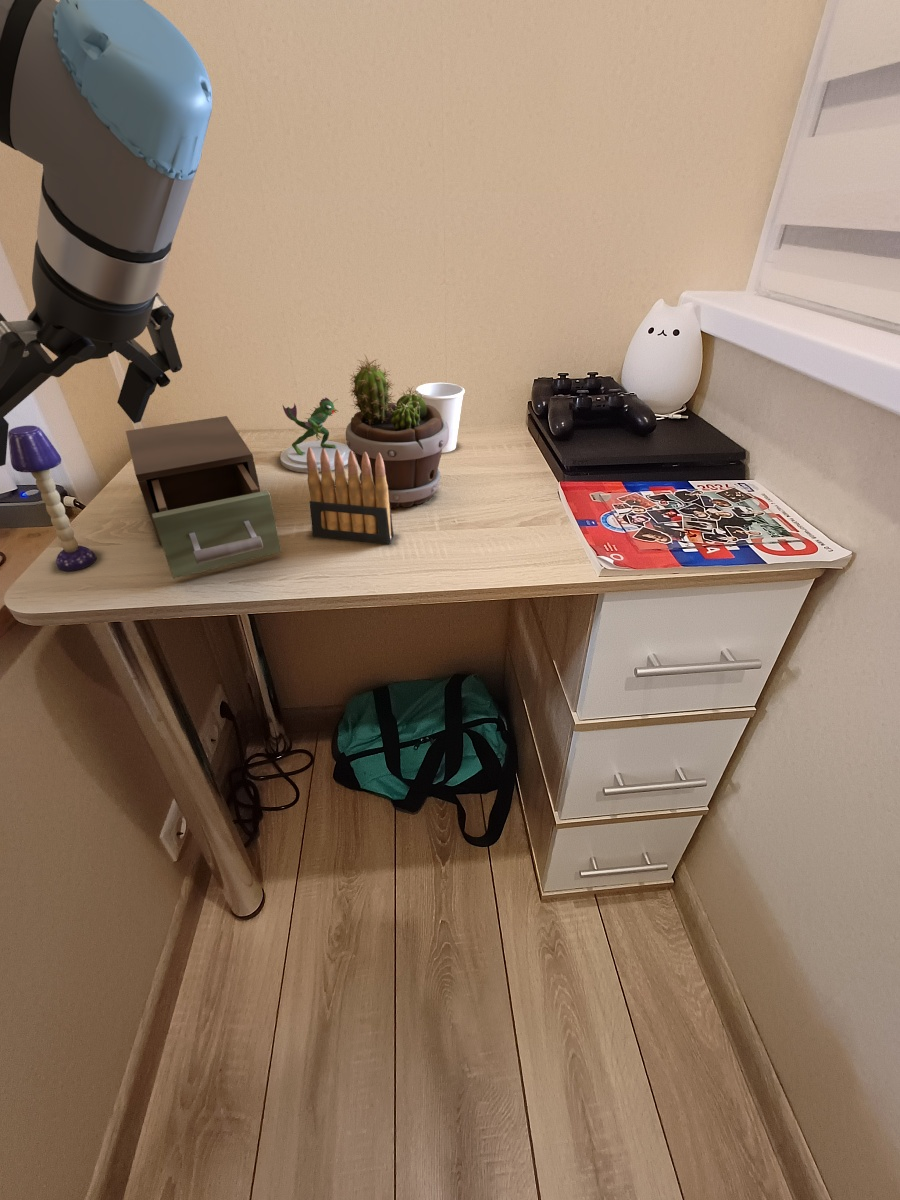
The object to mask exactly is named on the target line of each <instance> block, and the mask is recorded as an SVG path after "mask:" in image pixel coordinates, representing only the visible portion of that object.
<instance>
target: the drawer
mask: <svg viewBox="0 0 900 1200" xmlns="http://www.w3.org/2000/svg"><path fill="white" fill-rule="evenodd" d="M151 482H152V486H153V490H154V493H155V497H156V501H157V504H158V508H159V511H160V512H158V513H153V514H152V517H153V520H154V523H155V526H156V529H157V532H158V535H159V538H160V541H161V544H162V545H161V546H162V549H163V552H164V556H165V558H166V562H167V564H168V567H169V570H170V573H171V576H172V578H173V579H177V578H181V577H186V576H189V575H193V574H197V573H198V574H199V573H202V572H206V571H210V570H215V569H218V568H222V567H227V566H230V565H234V564H239V563H242V562H246V561H250V560H254V559H258V558H263V557H267V556H271V555H274V554H278V553H279V554H280V553H282V547H281V543H280V542H281V541H280V538H279V532H278V528H277V523H276V518H275V517H276V516H275V513H274V507H273V503H272V497H271V494H270V492H269V491H268V489H267V490H260V492H259V490H258V488H257V486H256V485H255V483H254V481H253V480H252V478H251V476H250V475H249V473H248V472H247V470H246V468H245V467H244V465H243V463H236V464H231V465H225V466H220V467H214V468H209V469H203V470H198V471H192V472H187V473H181V474H176V475H170V476H165V477H159V478H154V479H151Z"/></svg>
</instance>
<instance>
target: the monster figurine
mask: <svg viewBox="0 0 900 1200" xmlns="http://www.w3.org/2000/svg"><path fill="white" fill-rule="evenodd" d="M338 399H339V398H337V399H335V401H337V400H338ZM335 401H331V400H330V399H329V398H328V397H324V398H322V399H320V401H319V405H317V407H314V410H312V409H311V411H312V413H307V414H308V415H310V417H309V418H308V417H305V420H307V421H305V420H304V421H302V420H299V419H298V408H297V405H296V403H295V402H294V403H293V407H290V406H287V407H285V405H282V409H283V412H284V414H285V416H286V417H287V418H288V419H289V420H290V421H293V422H295V424H296V425H297V426H298V427H300V428H303V429H304V430H306V431H305V432H304V433H303V434H302V435H300V436H299V437H298V438H297V439H296V440H294V442H292V443H291V446H289V447H287V448H285V449H284V450H283V451H282V452H281V454H280V458H279V459H280V463H281V465H282V466H283V467H284V468H285V469H287V470H290V471H293V472H296V473H304V474H305V473H306V474H308V471H307V470H308V469H307V450H308V448H309V447H310V448H311V449H312V451H313V454H314V456H315V459H316V464H317V469H318V474H320V473H321V464H320V457H321V451H322V449H323V448H324V449H325V451H326V453H327V455H328V458H329V462H330V467H331V472H332V471H335V468H334V457H335V452H336V450H337V449H338V450H339V452H340V454H341V456H342V460H343V464H344V467H346V466H348V456H349V452H350V451H352V450H350V449H349V447H348V445H347V444H346V443H343V442H338V441H332V440H329V436H330V431H329V430H328V429H327V428H326V427H324V426H323V423H324V424H325V422H326V421H327V420H328V417H330V416H331V417H332V416H333V414H335V413H337V412H338V409H336V408H335V405H334V403H335ZM320 434H322V437H321V436H320ZM313 436H315V437H316V439H317V440H311V441H310V440H309V441H305V440H307V439H308V438H311V437H313ZM320 439H321V440H320ZM352 452H353V451H352Z"/></svg>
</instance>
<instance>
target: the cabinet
mask: <svg viewBox="0 0 900 1200" xmlns="http://www.w3.org/2000/svg"><path fill="white" fill-rule="evenodd" d="M125 434H126V438H127V443H128V448H129V452H130V456H131V461H132V465H133V469H134V470H133V471H134V474H135V477H136V480H137V483H138V486H139V489H140V492H141V494H142V497H143V500H144V501H143V502H144V503H145V506H146V509H147V513H148V515H149V519H150V521H151V524H152V527H153V530H154V532H155V535H156V538H157V541H158V544H159V546H162V544H161V541H160V538H159V535H158V532H157V529H156V526H155V523H154V520H153V517H152V514H153V513H158V512H160V511H159V508H158V504H157V501H156V497H155V493H154V490H153V486H152V482H151V479H154V478H159V477H165V476H170V475H176V474H181V473H187V472H192V471H198V470H203V469H209V468H214V467H220V466H225V465H231V464H236V463H243V465H244V467H245V468H246V470H247V472H248V473H249V475H250V476H251V478H252V480H253V481H254V483H255V485H256V486H257V488H258V490H259V492H261V487H260V483H259V478H258V474H257V469H256V463H255V458H254V454H253V453H252V451H251V449H250V448H249V447H248V445H247V443H246V442H245V441H244V439H243V438H242V436H241V435H240V433H239V432H238V430H237V429H236V427H235V426H234V424H233V423H232V421H231V420H230V417H228V416H227V415H223V416H216V417H209V418H203V419H197V420H191V421H184V422H176V423H169V424H163V425H157V426H150V427H143V428H137V429H136V428H135V429H130V430H126V431H125Z"/></svg>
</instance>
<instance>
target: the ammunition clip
mask: <svg viewBox="0 0 900 1200" xmlns="http://www.w3.org/2000/svg"><path fill="white" fill-rule="evenodd" d="M320 464H321V472H320V473H318V469H317V464H316V459H315V456H314V454H313V451H312V449H311V448H310V447H309V448H308V450H307V469H308V470H307V471H308V473H307V486H308V487H307V488H308V494H309V502H308V503H309V512H310V513H309V514H310V522H311V531H312V536H313V537H316V538H325V539H335V540H345V541H355V542H363V543H373V544H374V543H375V544H381V545H383V544H384V545H390V544H391V543H392V541H393V539H394V537H395V535H394V527H393V519H392V518H393V517H392V510H391V507H390V503H389V495H388V485H387V481H386V475H385V467H384V462H383V459H382V456H381V454H380V453H378V454H377V457H376V463H375V474H376V475H375V487H374V482H373V478H372V472H371V465H370V460H369V457H368V455H367V453H366V452H364V453H363V456H362V466H361V469H362V484H361V482H360V479H359V476H360V474H359V473H360V472H359V468H358V467H359V466H358V462H357V459H356V456H355V452H353V451H350V452H349V456H348V464H347V476H348V477H346V470H345V466H344V464H343V460H342V456H341V454H340V452H339V450H338V449H337V450H336V452H335V457H334V468H335V470H334V477H333V472H332V471H331V467H330V462H329V458H328V455H327V453H326V451H325V449H324V448H323V449H322V451H321V457H320ZM320 476H321V477H320ZM347 478H348V479H347Z"/></svg>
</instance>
